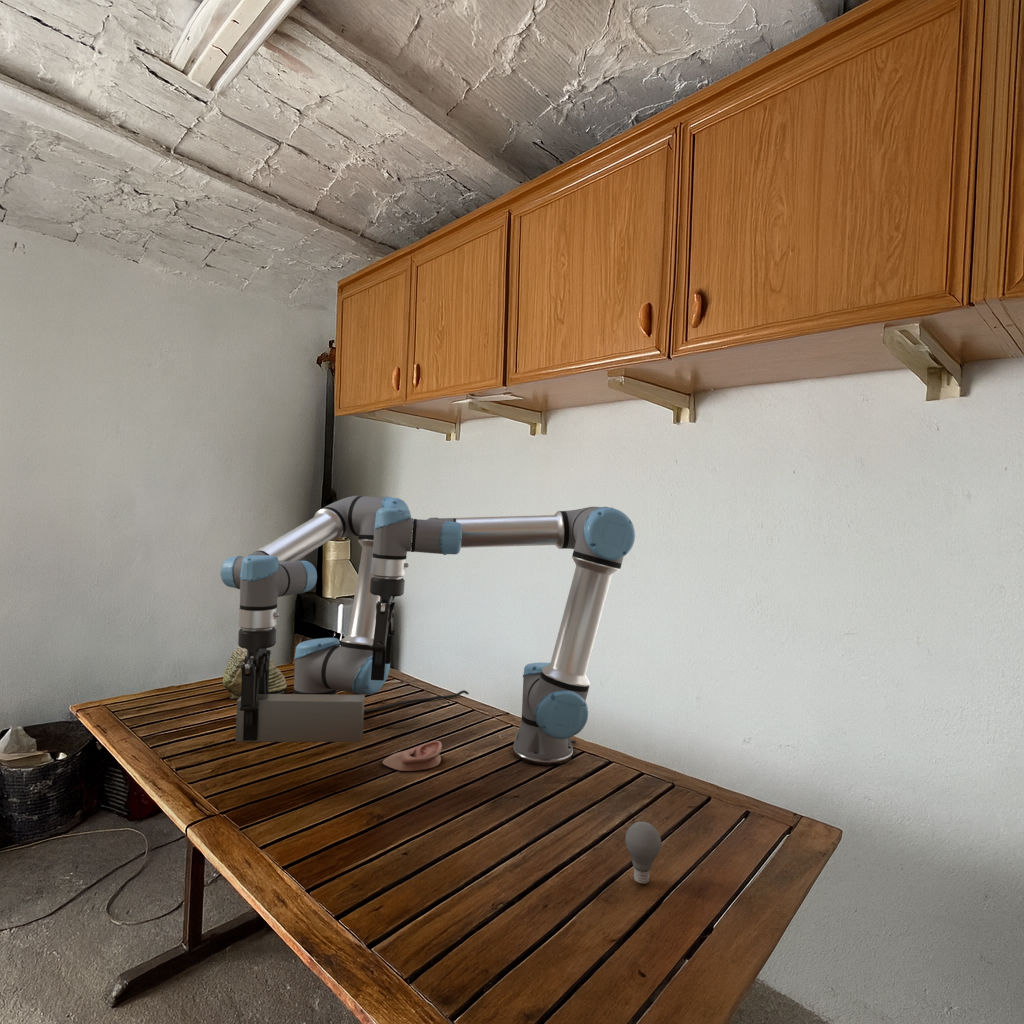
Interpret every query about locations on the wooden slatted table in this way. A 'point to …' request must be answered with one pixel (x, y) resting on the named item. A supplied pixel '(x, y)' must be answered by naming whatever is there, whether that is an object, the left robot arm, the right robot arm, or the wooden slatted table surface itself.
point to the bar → (306, 718)
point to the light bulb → (642, 848)
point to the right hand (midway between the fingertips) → (380, 671)
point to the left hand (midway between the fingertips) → (253, 735)
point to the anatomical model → (416, 757)
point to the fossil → (234, 675)
